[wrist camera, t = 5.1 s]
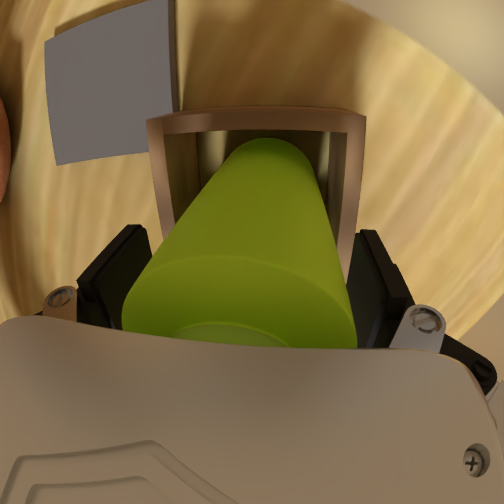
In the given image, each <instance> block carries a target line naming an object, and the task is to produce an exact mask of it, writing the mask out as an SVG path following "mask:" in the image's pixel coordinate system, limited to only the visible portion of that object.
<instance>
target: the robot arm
mask: <svg viewBox="0 0 504 504" xmlns="http://www.w3.org/2000/svg"><path fill="white" fill-rule="evenodd" d="M151 258H152V253H151V249H150V244H149V240H148V235H147V231H146V229H145V228H143V227H142V225H140V224H133V225H127V226H126V227H125V228H124V229H123V230H122V231H121V232H120V233H119V234H118V235H117V236H116V237H115V238H114V239H113V240H112V241H111V242H110V243H109V244H108V245H107V246H106V248H105V249H104V250H103V251H102V252H101V253H100V254H99V255H98V256H97V257H96V258H95V260H94V261H93V262H92V263H91V264H90V265H89V266H88V267H87V269H86V270H85V271H84V272H83V273H82V274H81V275H80V277H79V278H78V279H77V280H76V281H77V283H78V286H79V287H78V289H77V290H76V289H75V288H74V287H72V286H62V287H59V288H57V289H55V290H54V291H52V292H51V293H50V294H49V295H48V296H47V297H46V299H45V302H44V307H43V311H41V312H39V313H37V314H35V315H32V316H21V317H16V318H12V319H9V320H7V321H5V322H4V323H2V324H1V325H0V504H504V381H503V380H502V381H501V382H500V383H499V382H498V381H497V373H496V370H495V367H494V366H493V364H492V363H491V362H490V361H489V360H488V359H486V358H485V357H483V356H481V355H480V354H478V353H477V352H475V351H473V350H472V349H470V348H468V347H467V346H465V345H463V344H462V343H460V342H458V341H457V340H455V339H453V338H452V337H450V336H448V335H447V334H445V330H446V322H445V319H444V317H443V316H442V314H441V313H440V312H438V311H437V310H436V309H434V308H432V307H430V306H427V305H419V304H418V305H415V302H414V300H413V298H412V296H411V294H410V291H409V289H408V287H407V285H406V283H405V281H404V279H403V277H402V275H401V273H400V271H399V269H398V267H397V265H396V264H393V263H392V261H391V259H390V257H389V255H388V253H387V251H386V249H385V247H384V245H383V243H382V241H381V239H380V237H379V235H378V234H377V232H376V230H365V229H361V230H360V233H356V234H355V237H354V243H353V249H352V255H351V261H350V267H349V272H348V278H347V283H346V288H347V292H348V297H349V301H350V305H351V310H352V315H353V319H354V324H355V329H356V334H357V348H293V347H270V346H252V345H238V344H225V343H214V342H204V341H195V340H186V339H177V338H169V337H162V336H154V335H148V334H141V333H134V332H128V331H123V329H122V309H123V304H124V301H125V299H126V296H127V294H128V293H129V291H130V289H131V288H132V286H133V285H134V283H135V282H136V280H137V279H138V277H139V276H140V274H141V273H142V271H143V270H144V268H145V267H146V265H147V264H148V262H149V261H150V260H151Z"/></svg>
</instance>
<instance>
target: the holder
mask: <svg viewBox="0 0 504 504" xmlns="http://www.w3.org/2000/svg"><path fill="white" fill-rule="evenodd" d="M146 128H147V137H148V146H149V154H150V161H151V168H152V175H153V182H154V189H155V195H156V201H157V207H158V213H159V219H160V224H161V230H162V235H163V240H165V238H166V237H167V236H168V234H169V233H170V231H171V230H172V229H173V227H174V226H175V225H176V223H177V222H178V220H179V219H180V218H181V216H182V215H183V214H184V212H185V211H186V210H187V208H188V207H189V206H190V205H191V203H192V202H193V201H194V199H195V198H196V197H197V195H198V194H199V193H200V192H201V186H200V176H199V165H198V154H197V142H196V132H202V131H220V130H254V129H277V130H311V131H329V132H330V144H329V164H328V181H327V195H326V208H325V209H326V213H327V216H328V219H329V223H330V226H331V230H332V233H333V237H334V241H335V244H336V248H337V252H338V256H339V260H340V263H341V267H342V271H343V276H344V280H345V284H346V282H347V277H348V271H349V266H350V260H351V254H352V248H353V242H354V236H355V229H356V222H357V215H358V207H359V199H360V191H361V181H362V171H363V160H364V148H365V133H366V116H363V115H360V114H357V113H355V112H352V111H349V110H346V109H339V108H325V107H308V106H233V107H215V108H202V109H191V110H181V111H177V112H173V113H170V114H166V115H162V116H158V117H155V118H151V119H148V120H146Z"/></svg>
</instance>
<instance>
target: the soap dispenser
mask: <svg viewBox="0 0 504 504" xmlns="http://www.w3.org/2000/svg"><path fill="white" fill-rule="evenodd" d="M122 329H123V331H128V332H134V333H141V334H148V335H154V336H162V337H169V338H177V339H186V340H195V341H204V342H214V343H225V344H238V345H252V346H270V347H293V348H357V334H356V329H355V324H354V319H353V315H352V310H351V305H350V301H349V297H348V292H347V288H346V284H345V280H344V276H343V271H342V267H341V263H340V260H339V256H338V252H337V248H336V244H335V241H334V237H333V233H332V230H331V226H330V223H329V219H328V216H327V213H326V209H325V206H324V202H323V199H322V196H321V193H320V189H319V186H318V183H317V180H316V177H315V174H314V171H313V168H312V166H311V164H310V162H309V160H308V159H307V157H306V156H305V155H304V154H303V152H302V151H300V150H299V149H298V148H297V147H295V146H294V145H292V144H291V143H289V142H286V141H284V140H281V139H276V138H258V139H253V140H250V141H248V142H246V143H244V144H242V145H240V146H239V147H238V148H236V149H235V150H234V151H233V152H232V153H231V154H230V155H229V157H228V158H227V159H226V160H225V162H224V163H223V164H222V165H221V166H220V168H219V169H218V170H217V171H216V173H215V174H214V175H213V176H212V178H211V179H210V180H209V181H208V183H207V184H206V185H205V186H204V188H203V189H202V190H201V192H200V193H199V194H198V195H197V197H196V198H195V199H194V201H193V202H192V203H191V205H190V206H189V207H188V208H187V210H186V211H185V212H184V214H183V215H182V216H181V218H180V219H179V220H178V222H177V223H176V225H175V226H174V227H173V229H172V230H171V231H170V233H169V234H168V236H167V237H166V238H165V240H164V241H163V242H162V244H161V245H160V247H159V248H158V250H157V251H156V252H155V254H154V255H153V257H152V258H151V260H150V261H149V262H148V264H147V265H146V267H145V268H144V270H143V271H142V273H141V274H140V276H139V277H138V279H137V280H136V282H135V283H134V285H133V286H132V288H131V289H130V291H129V293H128V294H127V296H126V299H125V301H124V304H123V309H122Z"/></svg>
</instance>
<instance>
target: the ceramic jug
mask: <svg viewBox="0 0 504 504" xmlns="http://www.w3.org/2000/svg"><path fill="white" fill-rule="evenodd" d="M10 166H11V139H10V130H9V123H8V118H7V114H6V110H5V107H4V104H3V101H2V99H1V97H0V203H1V201H2V199H3V196H4V194H5V191H6V187H7V183H8V178H9V173H10Z"/></svg>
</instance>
